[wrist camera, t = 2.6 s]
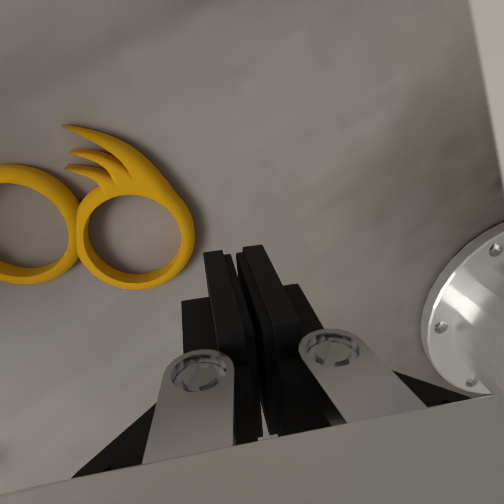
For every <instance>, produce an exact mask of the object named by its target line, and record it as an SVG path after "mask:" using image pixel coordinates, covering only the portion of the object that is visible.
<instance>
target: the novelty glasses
mask: <svg viewBox="0 0 504 504" xmlns="http://www.w3.org/2000/svg"><path fill="white" fill-rule="evenodd" d="M62 126H63V127H64V128H66V129H68V130H70V131H72V132H74V133H76V134H78V135H80V136H82V137H84V138H86V139H88V140H90V141H92V142H94V143H96V144H98V145H99V146H101V147H103V148H104V149H106V150H107V151H109V152H110V153H112V154H113V155H114V156H115V157H114V156H112V155H110V154H108V153H105V152H102V151H98V150H93V149H76V150H72V151H71V152H69V153H68V154H72V155H76V156H80V157H83V158H86V159H89V160H91V161H94V162H96V163H98V164H99V165H101V166H103V167H104V168H105V169H106V170H105V169H101V168H98V167H94V166H84V165H71V164H68V165H67V166H66V167H65V168H64V169H67V170H69V171H72V172H75V173H77V174H80V175H83V176H85V177H88V178H90V179H92V180H94V181H95V182H96V183H97V184H98V186H96V187H95V188H94V189H92V190H91V191H90V192H89V193H88V194H87V195H86V196H85V198H84V199H83V200H82V202H81V203H79V202H78V200H77V198H76V197H75V196H74V194H73V193H72V192H71V191H70V190H69V188H68V187H66V186H65V185H64V184H63V183H62V182H61V181H59V180H58V179H57V178H55V177H54V176H52V175H50V174H48V173H46V172H44V171H42V170H40V169H36V168H33V167H30V166H25V165H18V164H2V165H0V183H14V184H19V185H23V186H26V187H29V188H32V189H34V190H36V191H38V192H40V193H41V194H43V195H44V196H46V197H47V198H48V199H49V200H50V201H52V202H53V203H54V204H55V205H56V207H57V208H58V209H59V211H60V212H61V214H62V215H63V217H64V219H65V222H66V225H67V228H68V246H67V249H66V252H65V254H64V255H63V256H61V257H60V258H59V259H58V260H56V261H54V262H52V263H51V264H48V265H44V266H41V267H34V268H26V267H18V266H14V265H11V264H8V263H5V262H3V261H1V260H0V280H1V281H4V282H8V283H13V284H23V285H25V284H38V283H43V282H47V281H49V280H52V279H54V278H57V277H58V276H60V275H62V274H63V273H65V272H66V271H67V270H69V269H70V268H71V267H72V266H73V265H74V263H75V262H76V261H77V259H78V258H80V260H81V262H82V263H83V264H84V265H85V267H86V268H87V269H88V270H89V271H90V272H91V273H92V274H93V275H95V276H96V277H97V278H99V279H100V280H102V281H104V282H106V283H108V284H110V285H113V286H115V287H119V288H123V289H130V290H142V289H149V288H153V287H157V286H160V285H162V284H164V283H166V282H168V281H170V280H171V279H172V278H174V277H175V276H176V275H177V274H179V273H180V272H181V270H182V269H183V268H184V267H185V265H186V264H187V262H188V261H189V259H190V257H191V254H192V251H193V248H194V242H195V230H194V223H193V219H192V216H191V213H190V211H189V209H188V207H187V206H186V204H185V203H184V201H183V200H182V199H181V198H180V196H179V195H178V194H177V193H176V192H175V191H174V189H173V188H172V186H171V185H170V184H169V183H168V181H167V180H166V179H165V178H164V176H163V175H162V174H161V173H160V171H159V170H158V169H157V168H156V167H155V166H154V165H153V164H152V163H151V162H150V161H149V160H148V159H147V158H146V157H145V156H144V155H143V154H141V153H140V152H139V151H138V150H136V149H135V148H133V147H132V146H130V145H129V144H127V143H125V142H123V141H122V140H120V139H117V138H115V137H113V136H110V135H108V134H105V133H102V132H98V131H95V130H91V129H87V128H82V127H77V126H71V125H65V124H64V125H62ZM121 195H139V196H144V197H147V198H150V199H152V200H155V201H157V202H158V203H160V204H161V205H163V206H164V207H165V208H166V209H168V210H169V211H170V213H171V214H172V215H173V216H174V218H175V219H176V221H177V223H178V225H179V227H180V231H181V236H182V240H181V244H180V247H179V250H178V251H177V253H176V255H175V256H174V258H173V259H172V260H171V261H170V262H169V263H168V264H166V265H165V266H163V267H162V268H160V269H158V270H156V271H153V272H150V273H144V274H130V273H125V272H121V271H119V270H116V269H114V268H112V267H110V266H109V265H107V264H106V263H104V262H103V261H102V260H101V259H100V258H99V256H98V255H97V254H96V253H95V251H94V249H93V248H92V246H91V243H90V240H89V236H88V223H89V218H90V215H91V213H92V212H93V210H94V209H95V208H96V207H97V206H99V205H100V204H101V203H103V202H104V201H106V200H108V199H111V198H113V197H117V196H121Z"/></svg>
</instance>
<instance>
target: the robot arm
mask: <svg viewBox="0 0 504 504" xmlns="http://www.w3.org/2000/svg"><path fill="white" fill-rule="evenodd" d="M203 256H204V264H205V271H206V279H207V286H208V294H209V297H205V298H198V299H192V300H185V301H181V306H182V329H183V352H184V354H183V355H181V356H179V357H178V358H176V359H174V360H173V361H172V362H171V363H170V364H169V365H168V366H167V368H166V370H165V372H164V375H163V379H162V383H161V387H160V391H159V395H158V399H157V403H156V404H155V405H153V406H152V407H151V408H150V409H149V410H148V411H147V412H145V413H144V414H143V415H142V416H141V417H140V418H139V419H137V420H136V421H135V422H134V423H133V424H132V425H130V426H129V427H128V428H127V429H126V430H125V431H124V432H122V433H121V434H120V435H119V436H118V437H117V438H116V439H114V440H113V441H112V442H111V443H110V444H109V445H108V446H106V447H105V448H104V449H103V450H102V451H101V452H100V453H98V454H97V455H96V456H95V457H94V458H93V459H92V460H90V461H89V462H88V463H87V464H86V465H85V466H84V467H82V468H81V469H80V470H79V471H78V472H77V473H76V474H75V475H74V476H73V477H72V478H71V479H67V480H62V481H58V482H53V483H48V484H44V485H39V486H35V487H31V488H27V489H22V490H18V491H14V492H10V493H5V494H1V495H0V504H504V222H503V223H501V224H499V225H497V226H495V227H493V228H491V229H489V230H487V231H485V232H484V233H482V234H481V235H479V236H478V237H477V238H475V239H474V240H472V241H471V242H469V243H468V244H467V245H466V246H465V247H464V248H463V249H462V250H461V251H459V252H458V253H457V254H456V255H455V256H454V257H453V258H452V259H451V261H450V262H449V263H448V264H447V266H446V267H445V268H444V269H443V271H442V272H441V273H440V274H439V276H438V278H437V280H436V281H435V283H434V285H433V287H432V288H431V290H430V292H429V295H428V297H427V300H426V303H425V306H424V308H423V314H422V320H421V341H422V344H423V348H424V351H425V354H426V356H427V357H428V359H429V361H430V362H431V364H432V365H433V367H434V368H435V369H436V370H437V371H438V372H439V373H440V374H441V376H442V377H443V378H444V379H445V380H447V381H448V382H450V383H451V384H452V385H454V386H456V387H458V388H460V389H463V390H465V391H469V392H475V393H481V394H493V395H489V396H484V397H479V398H474V399H472V398H470V397H467V396H465V395H462V394H459V393H456V392H453V391H450V390H447V389H444V388H442V387H439V386H436V385H433V384H430V383H427V382H424V381H421V380H418V379H415V378H412V377H410V376H407V375H404V374H401V373H398V372H395V371H392V370H391V369H390V368H389V367H388V366H387V365H386V364H385V363H384V362H383V361H382V360H381V359H380V358H379V357H378V356H377V355H376V354H375V353H374V352H373V351H372V350H371V349H370V348H369V347H368V346H367V344H366V343H365V342H364V341H363V340H361V339H360V338H359V337H358V336H356V335H355V334H352V333H350V332H348V331H344V330H339V329H324V328H323V326H322V324H321V323H320V321H319V319H318V317H317V316H316V314H315V312H314V311H313V309H312V307H311V305H310V304H309V302H308V300H307V298H306V297H305V295H304V293H303V291H302V290H301V288H300V286H299V285H298V284H291V285H284V286H283V285H282V283H281V281H280V279H279V277H278V275H277V273H276V271H275V269H274V267H273V265H272V263H271V261H270V259H269V257H268V255H267V253H266V251H265V249H264V247H263V245H255V246H247V247H243V252H241V253H236V261H237V271H238V276H237V273H236V270H235V267H234V264H233V260H232V257H231V254H226V255H224V254H223V251H222V250H218V251H211V252H204V253H203ZM260 402H261V405H262V409H263V413H264V417H265V420H266V424H267V428H268V432H269V435H274V434H278V437H276V438H271V439H266V440H261V441H258V438H259V437H263V429H262V417H261V405H260Z"/></svg>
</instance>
